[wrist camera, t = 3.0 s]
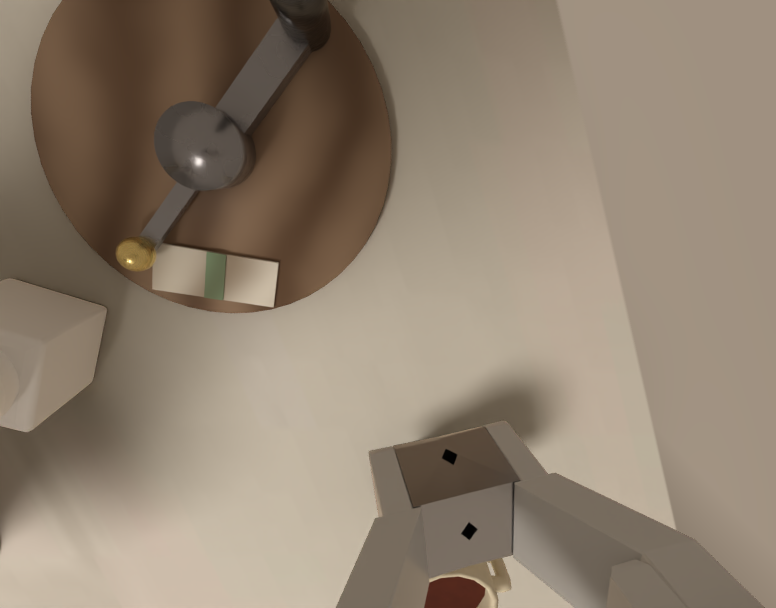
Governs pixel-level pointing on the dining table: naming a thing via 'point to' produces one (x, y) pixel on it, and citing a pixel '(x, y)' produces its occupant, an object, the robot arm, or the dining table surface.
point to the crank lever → (226, 124)
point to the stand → (208, 85)
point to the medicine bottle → (44, 351)
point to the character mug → (469, 587)
